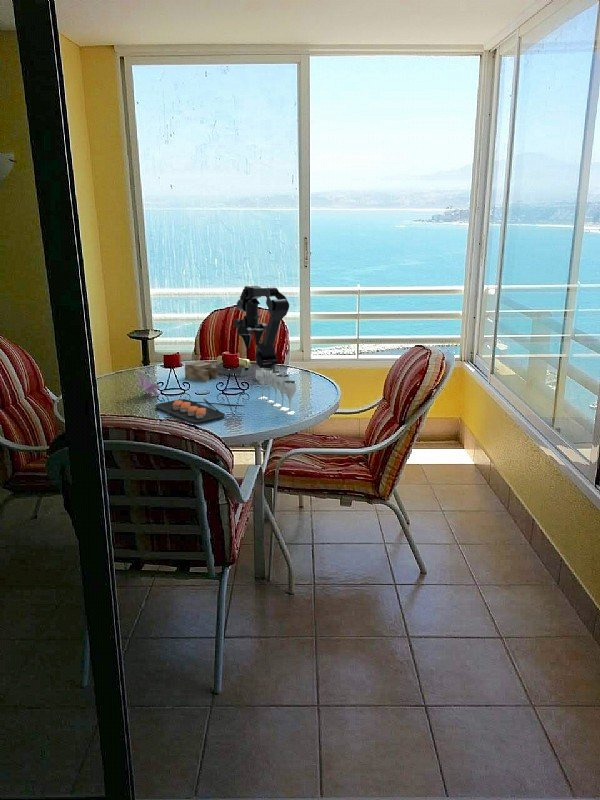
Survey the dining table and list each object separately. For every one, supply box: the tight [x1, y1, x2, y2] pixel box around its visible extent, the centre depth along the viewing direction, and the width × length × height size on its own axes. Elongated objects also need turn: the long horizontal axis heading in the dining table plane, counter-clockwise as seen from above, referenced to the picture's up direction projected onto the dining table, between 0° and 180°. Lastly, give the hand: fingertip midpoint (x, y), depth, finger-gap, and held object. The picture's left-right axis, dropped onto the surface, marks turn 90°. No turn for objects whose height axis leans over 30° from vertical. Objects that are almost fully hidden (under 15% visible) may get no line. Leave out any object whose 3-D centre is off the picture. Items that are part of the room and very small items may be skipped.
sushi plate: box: [154, 398, 245, 424], centre depth 239 cm, size 29×30×4 cm
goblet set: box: [254, 367, 297, 415], centre depth 244 cm, size 28×6×13 cm, turn 30°
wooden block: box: [184, 360, 219, 383], centre depth 284 cm, size 12×8×6 cm, turn 62°
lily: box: [134, 372, 162, 400], centre depth 254 cm, size 12×12×10 cm
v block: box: [215, 363, 254, 378], centre depth 295 cm, size 14×10×4 cm
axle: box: [216, 355, 251, 368], centre depth 294 cm, size 16×4×4 cm, turn 62°
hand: (252, 346), depth 296 cm, fingers open, 9 cm apart
